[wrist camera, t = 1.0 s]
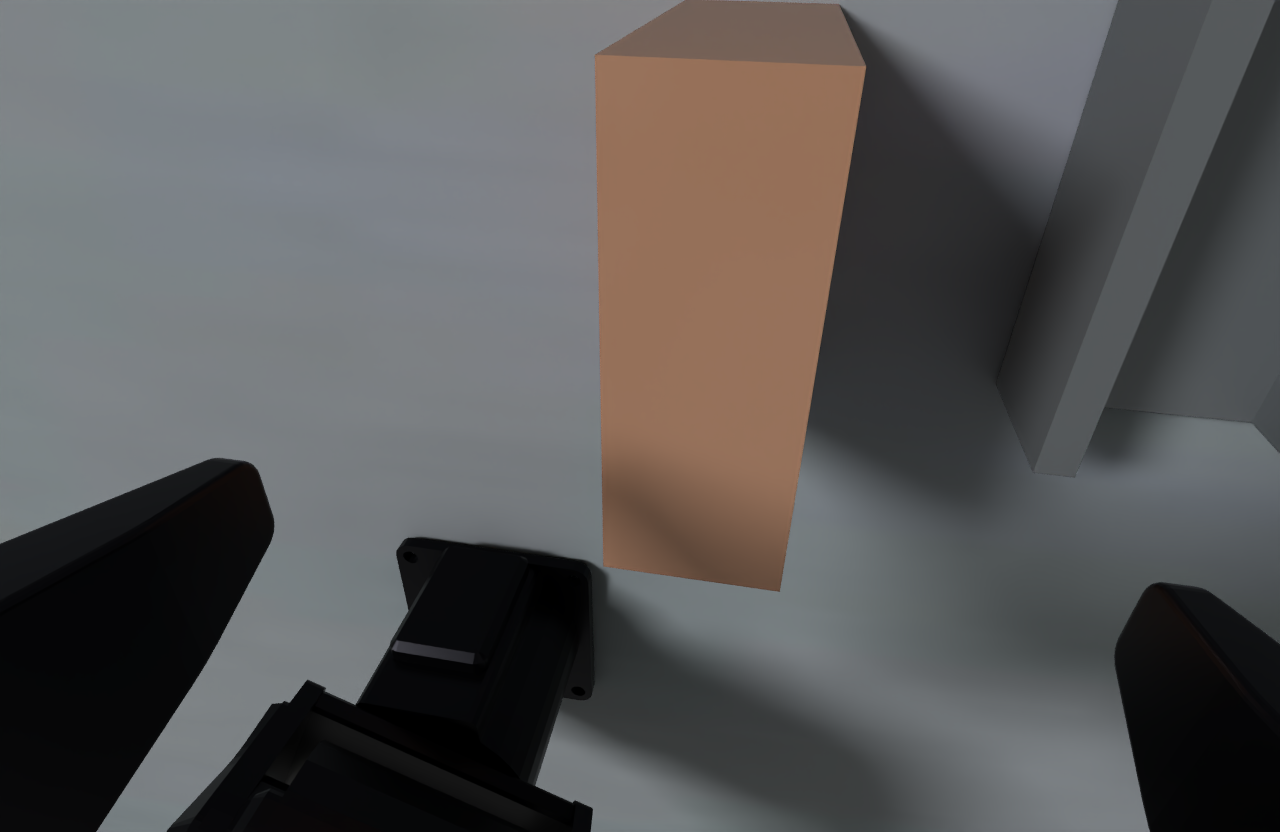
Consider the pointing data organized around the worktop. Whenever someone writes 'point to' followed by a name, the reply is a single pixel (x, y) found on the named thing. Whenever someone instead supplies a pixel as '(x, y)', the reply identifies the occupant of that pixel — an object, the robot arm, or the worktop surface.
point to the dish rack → (1160, 237)
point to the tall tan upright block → (716, 275)
